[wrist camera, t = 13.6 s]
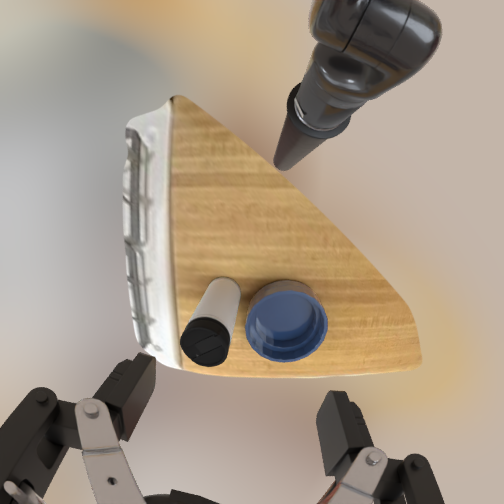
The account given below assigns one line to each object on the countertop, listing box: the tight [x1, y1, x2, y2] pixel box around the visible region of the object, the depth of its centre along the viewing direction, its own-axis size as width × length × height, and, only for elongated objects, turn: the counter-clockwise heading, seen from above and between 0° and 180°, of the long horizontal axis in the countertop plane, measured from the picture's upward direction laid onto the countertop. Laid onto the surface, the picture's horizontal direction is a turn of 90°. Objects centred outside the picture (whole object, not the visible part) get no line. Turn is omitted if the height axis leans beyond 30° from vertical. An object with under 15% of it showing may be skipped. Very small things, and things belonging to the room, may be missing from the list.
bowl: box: [245, 280, 328, 362], centre depth 48 cm, size 14×14×6 cm
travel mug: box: [180, 277, 241, 367], centre depth 41 cm, size 6×7×20 cm
